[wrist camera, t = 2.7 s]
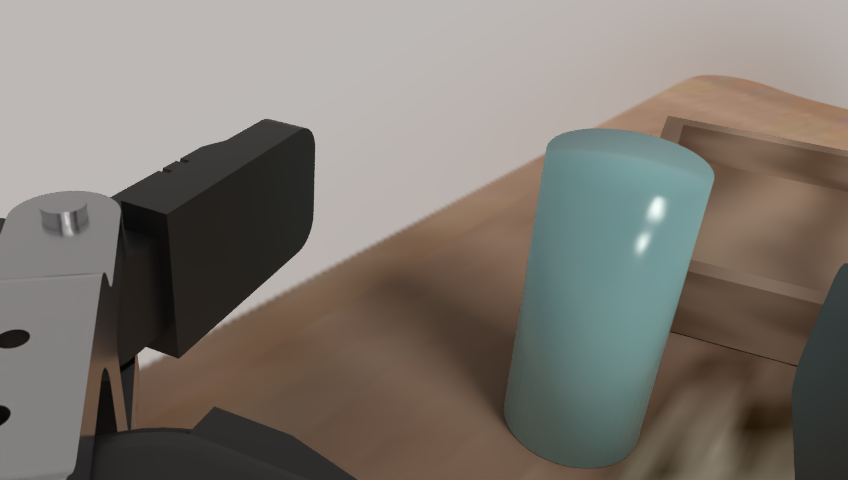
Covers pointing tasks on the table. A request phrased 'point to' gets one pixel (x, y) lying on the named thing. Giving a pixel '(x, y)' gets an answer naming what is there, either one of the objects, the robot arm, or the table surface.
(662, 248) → the teal canister
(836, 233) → the walnut tray
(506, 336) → the table surface
